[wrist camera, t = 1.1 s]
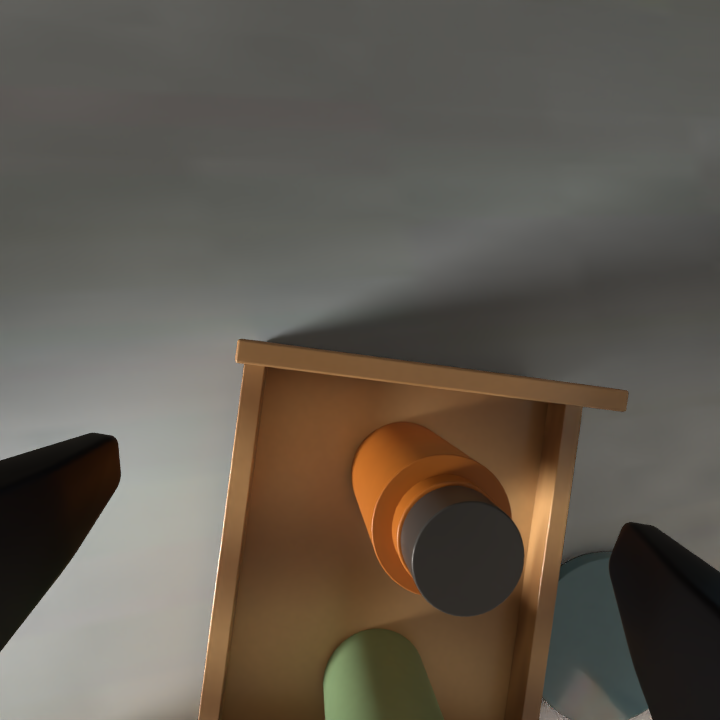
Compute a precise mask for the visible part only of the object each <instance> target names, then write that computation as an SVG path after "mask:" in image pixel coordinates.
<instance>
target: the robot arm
mask: <svg viewBox="0 0 720 720" xmlns="http://www.w3.org/2000/svg"><path fill="white" fill-rule="evenodd" d="M120 477H121V470H120V459H119V448H118V442H117V440H116V438H115V437H113V436H111V435H105V434H99V433H89V434H86V435H82V436H79V437H76V438H72V439H69V440H66V441H63V442H59V443H56V444H53V445H50V446H46V447H43V448H40V449H36V450H33V451H30V452H27V453H23V454H20V455H17V456H14V457H10V458H7V459H4V460H1V461H0V652H1V650H2V649H3V648H4V646H5V645H6V644H7V643H8V641H9V640H10V639H11V637H12V636H13V635H14V633H15V632H16V631H17V630H18V628H19V627H20V626H21V624H22V623H23V622H24V621H25V619H26V618H27V617H28V615H29V614H30V613H31V612H32V610H33V609H34V608H35V606H36V605H37V604H38V603H39V601H40V600H41V599H42V597H43V596H44V595H45V594H46V592H47V591H48V590H49V588H50V587H51V586H52V585H53V583H54V582H55V581H56V579H57V578H58V577H59V576H60V574H61V573H62V571H63V570H64V569H65V567H66V566H67V565H68V563H69V562H70V561H71V559H72V558H73V556H74V555H75V553H76V552H77V550H78V549H79V547H80V546H81V544H82V543H83V541H84V539H85V538H86V536H87V535H88V533H89V531H90V530H91V528H92V527H93V525H94V524H95V522H96V520H97V519H98V517H99V516H100V514H101V513H102V511H103V509H104V508H105V506H106V505H107V503H108V501H109V500H110V498H111V497H112V495H113V494H114V492H115V490H116V489H117V487H118V485H119V482H120ZM609 574H610V579H611V582H612V586H613V590H614V594H615V598H616V602H617V606H618V609H619V613H620V617H621V621H622V625H623V629H624V633H625V637H626V640H627V644H628V648H629V652H630V655H631V659H632V662H633V666H634V669H635V672H636V675H637V677H638V680H639V683H640V686H641V689H642V692H643V694H644V697H645V700H646V702H647V705H648V708H649V711H650V713H651V716H652V719H653V720H720V572H719V571H718V570H716V569H715V568H713V567H712V566H710V565H709V564H708V563H706V562H705V561H703V560H702V559H700V558H699V557H698V556H696V555H695V554H693V553H692V552H690V551H689V550H688V549H686V548H685V547H683V546H682V545H680V544H679V543H678V542H676V541H675V540H673V539H672V538H670V537H669V536H668V535H666V534H665V533H663V532H662V531H660V530H659V529H658V528H656V527H654V526H651V525H646V524H640V523H634V522H629V523H626V524H625V525H624V526H623V527H622V529H621V531H620V534H619V536H618V539H617V541H616V544H615V546H614V549H613V551H612V554H611V556H610V559H609Z"/></svg>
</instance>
